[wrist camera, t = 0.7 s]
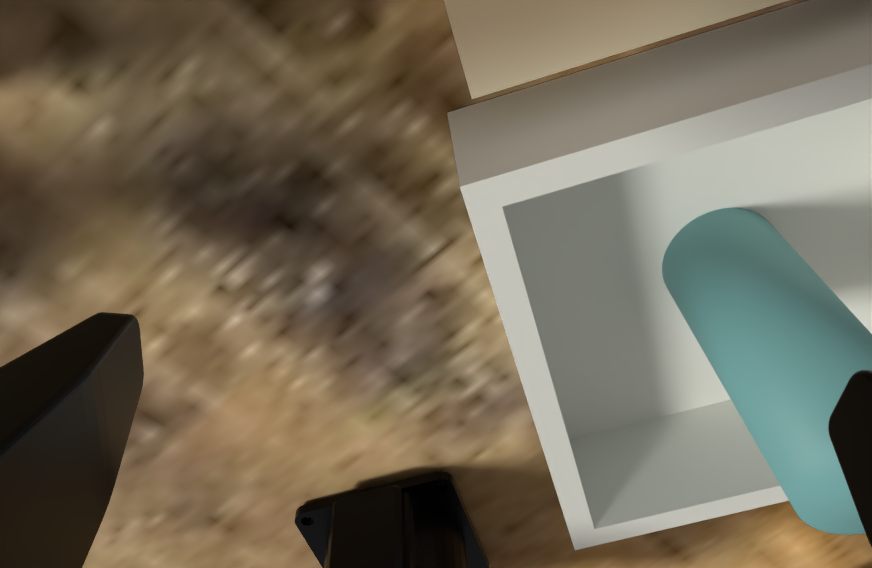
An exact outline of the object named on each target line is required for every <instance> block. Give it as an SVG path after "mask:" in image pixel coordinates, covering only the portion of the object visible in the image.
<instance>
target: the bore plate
mask: <svg viewBox="0 0 872 568" xmlns="http://www.w3.org/2000/svg"><path fill="white" fill-rule="evenodd" d="M785 1H788V0H444V4H445V7H446V11H447V14H448V18H449V21H450V25H451V28H452V32H453V35H454V39H455V42H456V46H457V49H458V53H459V56H460V60H461V63H462V67H463V70H464V74H465V77H466V81H467V84H468V88H469V91H470V94H471V98H472V99H474V98H478V97H481V96H484V95H487V94H490V93H494V92H497V91H500V90H503V89H506V88H510V87H513V86H516V85H519V84H522V83H526V82H529V81H532V80H535V79H538V78H542V77H545V76H548V75H551V74H554V73H558V72H561V71H564V70H567V69H570V68H574V67H577V66H580V65H583V64H587V63H590V62H593V61H596V60H599V59H603V58H606V57H609V56H612V55H615V54H619V53H622V52H625V51H628V50H631V49H635V48H638V47H641V46H644V45H647V44H651V43H654V42H657V41H660V40H663V39H667V38H670V37H673V36H676V35H679V34H683V33H686V32H689V31H692V30H695V29H699V28H702V27H705V26H708V25H711V24H715V23H718V22H721V21H724V20H728V19H731V18H734V17H737V16H740V15H744V14H747V13H750V12H753V11H756V10H760V9H763V8H766V7H769V6H772V5H776V4H779V3H782V2H785Z"/></svg>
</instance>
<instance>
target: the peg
mask: <svg viewBox="0 0 872 568" xmlns="http://www.w3.org/2000/svg"><path fill="white" fill-rule="evenodd" d="M662 276H663V280H664V283H665V285H666V287H667V289H668V291H669V292H670V294H671V296H672V298H673V299H674V301H675V303H676V305H677V306H678V308H679V310H680V312H681V313H682V315H683V317H684V319H685V320H686V322H687V324H688V326H689V327H690V329H691V331H692V332H693V334H694V336H695V338H696V339H697V341H698V343H699V345H700V346H701V348H702V350H703V352H704V353H705V355H706V357H707V359H708V360H709V362H710V364H711V366H712V367H713V369H714V371H715V373H716V374H717V376H718V378H719V380H720V381H721V383H722V385H723V387H724V388H725V390H726V392H727V394H728V395H729V397H730V399H731V401H732V402H733V404H734V406H735V408H736V409H737V411H738V413H739V414H740V416H741V418H742V420H743V421H744V423H745V425H746V427H747V428H748V430H749V432H750V434H751V435H752V437H753V439H754V441H755V442H756V444H757V446H758V448H759V449H760V451H761V453H762V455H763V456H764V458H765V460H766V462H767V463H768V465H769V467H770V469H771V470H772V472H773V474H774V476H775V477H776V479H777V481H778V483H779V484H780V486H781V488H782V489H783V491H784V493H785V495H786V496H787V498H788V500H789V502H790V503H791V505H792V507H793V509H794V510H795V512H796V513H797V515H798V516H799V518H800V519H801V520H802V521H804V522H805V523H806V524H808V525H809V526H811V527H813V528H815V529H817V530H820V531H823V532H827V533H833V534H842V535H855V534H865V530H864V528H863V525H862V523H861V520H860V517H859V515H858V512H857V509H856V507H855V504H854V501H853V499H852V496H851V493H850V490H849V488H848V485H847V482H846V480H845V477H844V474H843V472H842V469H841V466H840V464H839V461H838V458H837V455H836V453H835V450H834V447H833V445H832V442H831V439H830V436H829V430H828V423H829V418H830V416H831V414H832V412H833V410H834V408H835V406H836V404H837V402H838V400H839V398H840V396H841V394H842V392H843V391H844V389H845V387H846V385H847V383H848V381H849V379H850V378H851V376H852V375H853V374H854V373H856V372H857V371H860V370H872V334H871V333H870V332H869V330H868V329H867V328H866V327H865V326H864V325H863V324H862V323H861V322H860V321H859V320H858V318H857V317H856V316H855V315H854V314H853V313H852V312H851V311H850V310H849V309H848V308H847V306H846V305H845V304H844V303H843V302H842V301H841V300H840V299H839V298H838V297H837V296H836V294H835V293H834V292H833V291H832V290H831V289H830V288H829V287H828V286H827V285H826V284H825V282H824V281H823V280H822V279H821V278H820V277H819V276H818V275H817V274H816V273H815V272H814V270H813V269H812V268H811V267H810V266H809V265H808V264H807V263H806V262H805V261H804V260H803V258H802V257H801V256H800V255H799V254H798V253H797V252H796V251H795V250H794V249H793V248H792V246H791V245H790V244H789V243H788V242H787V241H786V240H785V239H784V238H783V237H782V235H781V234H780V233H779V232H778V231H777V230H776V229H775V228H774V227H773V226H772V225H771V223H770V222H769V221H768V220H767V219H765V218H764V217H763V216H761V215H760V214H758V213H756V212H754V211H751V210H748V209H743V208H723V209H718V210H714V211H711V212H708V213H705V214H703V215H701V216H699V217H697V218H695V219H694V220H692V221H691V222H689V223H688V224H687V225H685V226H684V227H683V228H682V229H681V230H680V231H679V232H678V233H677V234H676V235H675V236H674V238H673V239H672V241H671V242H670V244H669V245H668V247H667V249H666V252H665V254H664V258H663V262H662Z"/></svg>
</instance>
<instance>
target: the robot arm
mask: <svg viewBox="0 0 872 568" xmlns="http://www.w3.org/2000/svg"><path fill="white" fill-rule="evenodd" d="M143 376H144V371H143V360H142V349H141V339H140V328H139V323H138V321H137V319H136V317H135V316H133V315H131V314H119V313H106V312H101V313H97V314H95V315H93V316H91V317H89V318H88V319H86V320H84V321H82V322H81V323H79V324H77V325H75V326H73V327H72V328H70V329H68V330H66V331H64V332H63V333H61V334H59V335H57V336H55V337H54V338H52V339H50V340H48V341H47V342H45V343H43V344H41V345H39V346H38V347H36V348H34V349H32V350H30V351H29V352H27V353H25V354H23V355H22V356H20V357H18V358H16V359H14V360H13V361H11V362H9V363H7V364H5V365H4V366H2V367H0V568H82V566H83V564H84V562H85V559H86V557H87V555H88V552H89V550H90V548H91V545H92V543H93V541H94V538H95V536H96V534H97V531H98V529H99V527H100V524H101V522H102V519H103V517H104V514H105V512H106V509H107V507H108V504H109V501H110V498H111V495H112V492H113V488H114V485H115V482H116V478H117V475H118V471H119V468H120V464H121V461H122V457H123V454H124V450H125V447H126V443H127V440H128V436H129V433H130V429H131V426H132V422H133V419H134V415H135V412H136V408H137V405H138V401H139V398H140V394H141V391H142V386H143ZM828 430H829V436H830V439H831V442H832V445H833V447H834V450H835V453H836V455H837V458H838V461H839V464H840V466H841V469H842V472H843V474H844V477H845V480H846V482H847V485H848V488H849V490H850V493H851V496H852V499H853V501H854V504H855V507H856V509H857V512H858V515H859V517H860V520H861V523H862V525H863V528H864V530H865V533H866V535H867V538H868V540H869V542H870V545H871V547H872V370H860V371H857V372H856V373H854V374H853V375H852V376H851V378H850V379H849V381H848V383H847V385H846V387H845V389H844V391H843V392H842V394H841V396H840V398H839V400H838V402H837V404H836V406H835V408H834V410H833V412H832V414H831V416H830V418H829V423H828ZM438 484H443V485H438ZM307 517H309V518H307ZM295 523H296V525H297V527H298V529H299V530H300V532H301V534H302V535H303V537H304V538H305V540H306V542H307V543H308V545H309V546H310V548H311V550H312V551H313V553H314V555H315V556H316V558H317V559H318V561H319V563H320V564H321V566H322V567H323V568H489V562H488V560H487V558H486V555H485V553H484V550H483V548H482V546H481V543H480V541H479V539H478V536H477V534H476V531H475V529H474V527H473V524H472V522H471V520H470V517H469V515H468V512H467V510H466V508H465V505H464V503H463V501H462V498H461V496H460V493H459V491H458V489H457V486H456V484H455V482H454V479H453V477H452V476H451V474H449V473H447V472H443V471H439V472H434V473H430V474H426V475H422V476H418V477H414V478H410V479H406V480H402V481H398V482H394V483H390V484H386V485H382V486H378V487H374V488H370V489H366V490H362V491H358V492H354V493H350V494H346V495H342V496H338V497H334V498H330V499H326V500H322V501H318V502H314V503H310V504H306V505H303V506H301V507H299V508H298V509H297V511H296V516H295Z"/></svg>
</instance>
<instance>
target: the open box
mask: <svg viewBox="0 0 872 568" xmlns="http://www.w3.org/2000/svg"><path fill="white" fill-rule="evenodd" d="M447 115H448V121H449V127H450V133H451V139H452V144H453V150H454V156H455V162H456V167H457V173H458V179H459V185H460V189H461V192H462V195H463V198H464V202H465V205H466V208H467V211H468V214H469V217H470V220H471V224H472V227H473V230H474V233H475V236H476V239H477V243H478V246H479V249H480V252H481V255H482V258H483V262H484V265H485V268H486V271H487V274H488V277H489V281H490V284H491V287H492V290H493V293H494V296H495V300H496V303H497V306H498V309H499V312H500V315H501V319H502V322H503V325H504V328H505V331H506V334H507V337H508V341H509V344H510V347H511V350H512V353H513V356H514V360H515V363H516V366H517V369H518V372H519V375H520V379H521V382H522V385H523V388H524V391H525V394H526V398H527V401H528V404H529V407H530V410H531V413H532V417H533V420H534V423H535V426H536V429H537V432H538V436H539V439H540V442H541V445H542V448H543V451H544V455H545V458H546V461H547V464H548V467H549V470H550V473H551V477H552V480H553V483H554V486H555V489H556V492H557V496H558V499H559V502H560V505H561V508H562V511H563V515H564V518H565V521H566V524H567V527H568V530H569V534H570V537H571V540H572V543H573V546H574V549H575V550H579V549H583V548H587V547H592V546H596V545H600V544H604V543H609V542H613V541H617V540H622V539H626V538H630V537H635V536H639V535H643V534H647V533H652V532H656V531H660V530H665V529H669V528H673V527H677V526H682V525H686V524H690V523H695V522H699V521H703V520H708V519H712V518H716V517H720V516H725V515H729V514H733V513H738V512H742V511H746V510H751V509H755V508H759V507H763V506H768V505H772V504H776V503H781V502H785V501H789V500H788V498H787V496H786V495H785V493H784V491H783V489H782V488H781V486H780V484H779V483H778V481H777V479H776V477H775V476H774V474H773V472H772V470H771V469H770V467H769V465H768V463H767V462H766V460H765V458H764V456H763V455H762V453H761V451H760V449H759V448H758V446H757V444H756V442H755V441H754V439H753V437H752V435H751V434H750V432H749V430H748V428H747V427H746V425H745V423H744V421H743V420H742V418H741V416H740V414H739V413H738V411H737V409H736V408H735V406H734V404H733V402H732V401H731V399H730V397H729V395H728V394H727V392H726V390H725V388H724V387H723V385H722V383H721V381H720V380H719V378H718V376H717V374H716V373H715V371H714V369H713V367H712V366H711V364H710V362H709V360H708V359H707V357H706V355H705V353H704V352H703V350H702V348H701V346H700V345H699V343H698V341H697V339H696V338H695V336H694V334H693V332H692V331H691V329H690V327H689V326H688V324H687V322H686V320H685V319H684V317H683V315H682V313H681V312H680V310H679V308H678V306H677V305H676V303H675V301H674V299H673V298H672V296H671V294H670V292H669V291H668V289H667V287H666V285H665V283H664V280H663V276H662V262H663V258H664V254H665V252H666V249H667V247H668V245H669V244H670V242H671V241H672V239H673V238H674V236H675V235H676V234H677V233H678V232H679V231H680V230H681V229H682V228H683V227H684V226H685V225H687V224H688V223H689V222H691V221H692V220H694V219H695V218H697V217H699V216H701V215H703V214H705V213H708V212H711V211H714V210H718V209H723V208H743V209H748V210H751V211H754V212H756V213H758V214H760V215H761V216H763V217H764V218H765V219H767V220H768V221H769V222H770V223H771V225H772V226H773V227H774V228H775V229H776V230H777V231H778V232H779V233H780V234H781V235H782V237H783V238H784V239H785V240H786V241H787V242H788V243H789V244H790V245H791V246H792V248H793V249H794V250H795V251H796V252H797V253H798V254H799V255H800V256H801V257H802V258H803V260H804V261H805V262H806V263H807V264H808V265H809V266H810V267H811V268H812V269H813V270H814V272H815V273H816V274H817V275H818V276H819V277H820V278H821V279H822V280H823V281H824V282H825V284H826V285H827V286H828V287H829V288H830V289H831V290H832V291H833V292H834V293H835V294H836V296H837V297H838V298H839V299H840V300H841V301H842V302H843V303H844V304H845V305H846V306H847V308H848V309H849V310H850V311H851V312H852V313H853V314H854V315H855V316H856V317H857V318H858V320H859V321H860V322H861V323H862V324H863V325H864V326H865V327H866V328H867V329H868V330H869V332H870V333H871V334H872V0H808V1H804V2H801V3H798V4H795V5H792V6H788V7H785V8H782V9H779V10H775V11H772V12H769V13H766V14H763V15H759V16H756V17H753V18H750V19H747V20H743V21H740V22H737V23H734V24H730V25H727V26H724V27H721V28H718V29H714V30H711V31H708V32H705V33H702V34H698V35H695V36H692V37H689V38H685V39H682V40H679V41H676V42H673V43H669V44H666V45H663V46H660V47H657V48H653V49H650V50H647V51H644V52H640V53H637V54H634V55H631V56H628V57H624V58H621V59H618V60H615V61H612V62H608V63H605V64H602V65H599V66H595V67H592V68H589V69H586V70H583V71H579V72H576V73H573V74H570V75H567V76H563V77H560V78H557V79H554V80H550V81H547V82H544V83H541V84H538V85H534V86H531V87H528V88H525V89H522V90H518V91H515V92H512V93H509V94H505V95H502V96H499V97H496V98H493V99H489V100H486V101H483V102H480V103H477V104H473V105H470V106H467V107H464V108H460V109H457V110H454V111H451V112H448V113H447Z"/></svg>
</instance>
